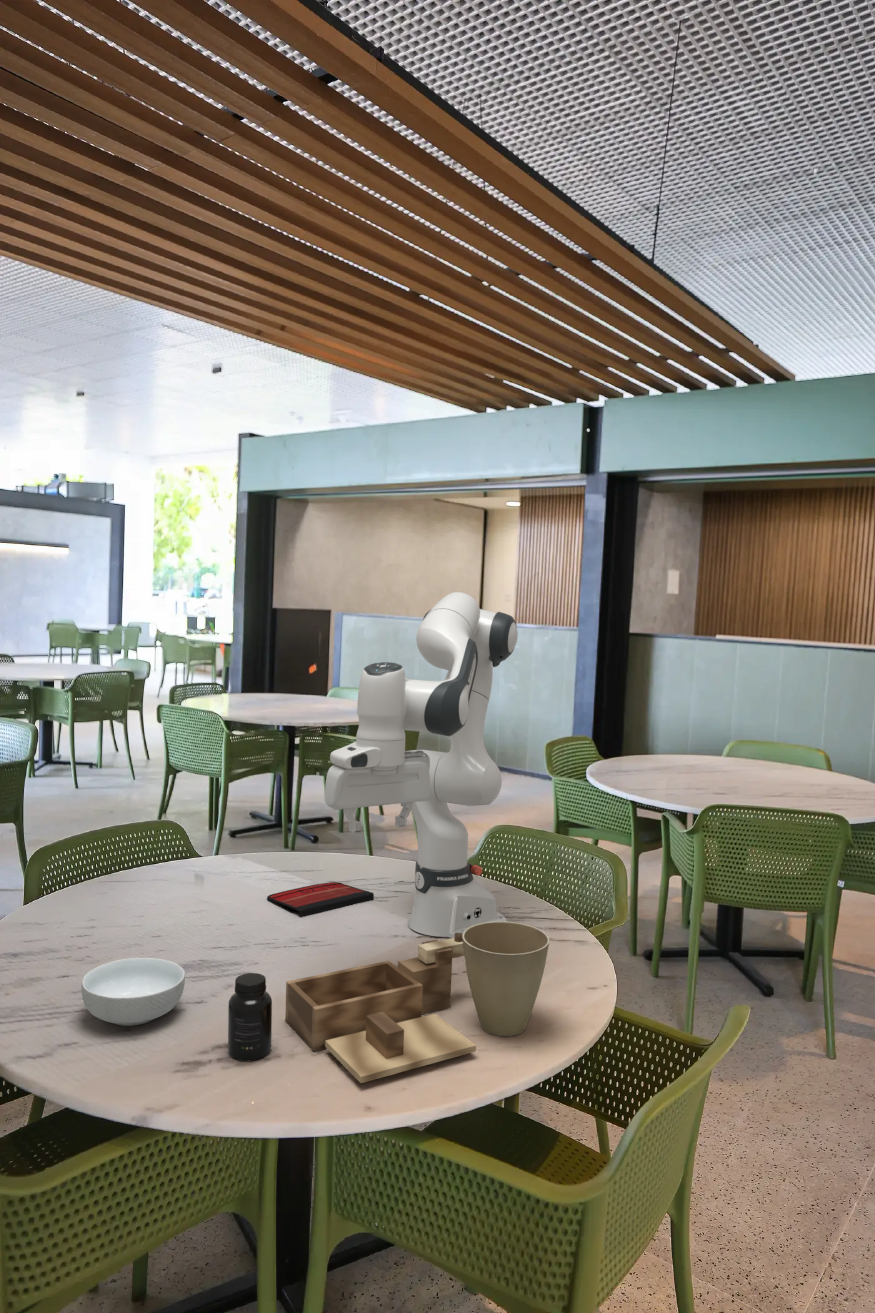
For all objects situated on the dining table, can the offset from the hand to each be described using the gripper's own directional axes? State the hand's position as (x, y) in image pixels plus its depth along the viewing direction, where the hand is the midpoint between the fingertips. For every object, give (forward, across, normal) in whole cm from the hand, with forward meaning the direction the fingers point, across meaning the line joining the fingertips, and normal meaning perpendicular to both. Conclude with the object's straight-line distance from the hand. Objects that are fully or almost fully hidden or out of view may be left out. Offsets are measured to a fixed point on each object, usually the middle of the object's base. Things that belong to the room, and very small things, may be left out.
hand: (378, 829), depth 168 cm
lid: (+31, +6, +21) cm, 38 cm away
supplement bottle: (+31, +27, +9) cm, 42 cm away
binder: (+32, -13, -53) cm, 63 cm away
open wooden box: (+31, +4, +8) cm, 32 cm away
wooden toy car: (+23, -10, +8) cm, 26 cm away
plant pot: (+31, -14, +21) cm, 40 cm away
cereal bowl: (+32, +40, -12) cm, 52 cm away
